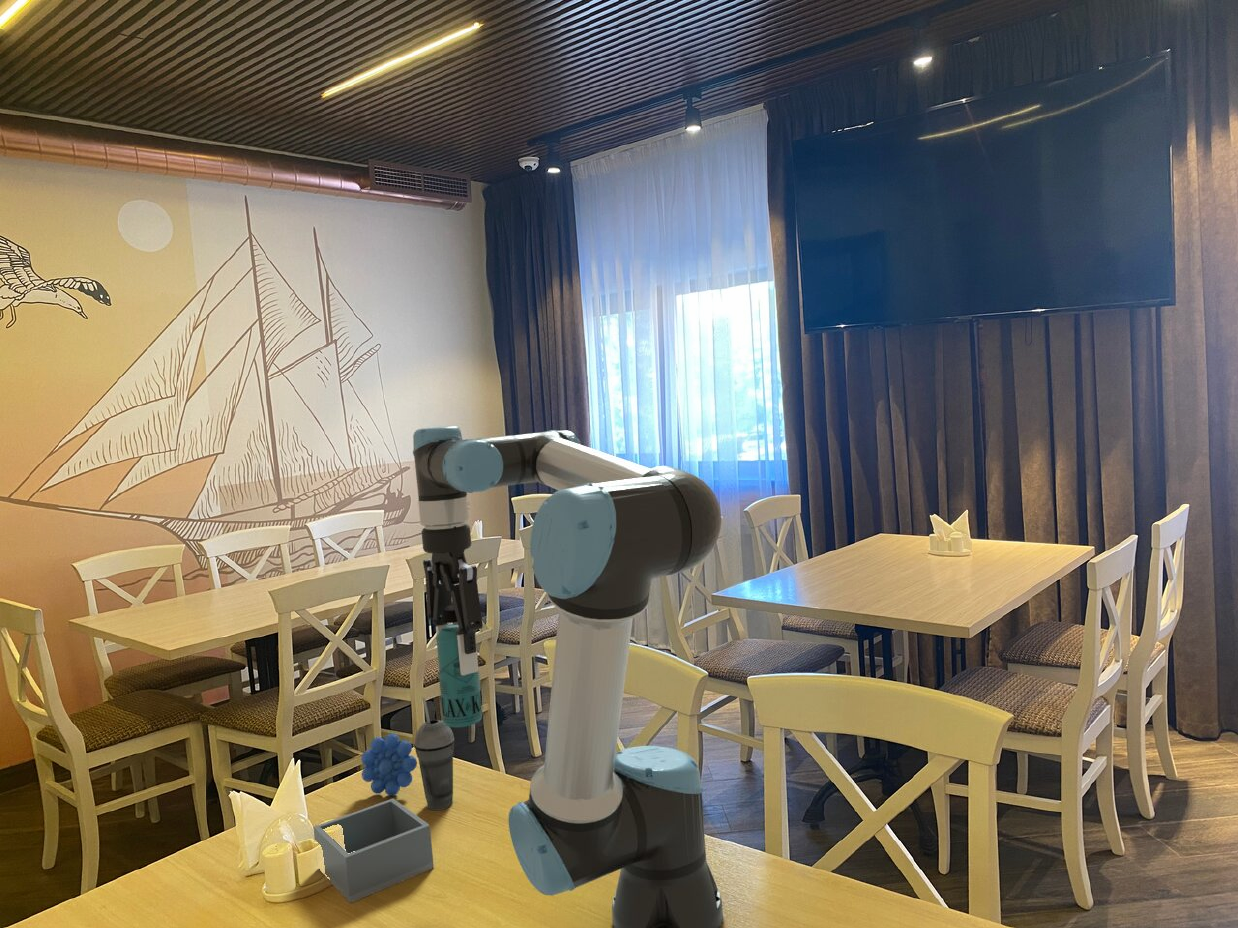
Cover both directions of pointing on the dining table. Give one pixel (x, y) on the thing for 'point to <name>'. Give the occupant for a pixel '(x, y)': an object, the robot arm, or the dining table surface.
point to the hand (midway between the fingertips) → (458, 668)
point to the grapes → (388, 764)
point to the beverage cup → (436, 761)
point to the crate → (375, 849)
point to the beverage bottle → (456, 678)
